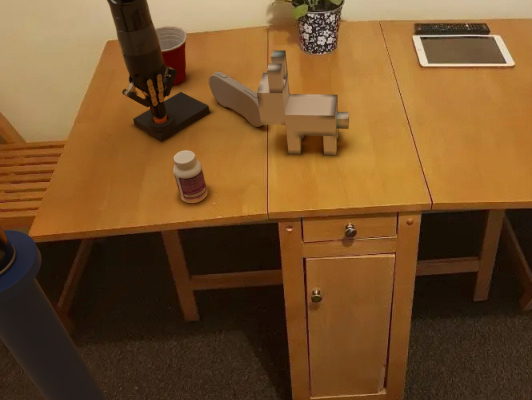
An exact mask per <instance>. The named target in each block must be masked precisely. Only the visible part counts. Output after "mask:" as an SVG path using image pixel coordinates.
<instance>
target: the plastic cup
mask: <svg viewBox="0 0 532 400" xmlns="http://www.w3.org/2000/svg"><path fill="white" fill-rule="evenodd" d="M155 29H156V32H157V36H158V40H159V44H160V48H161V52H162V56H163V60H164V62H163V63H164V64H165V65H166V67H167V66H169V67H171V68H173V69H175V70H177V74H176V77H175V80H174V83H173V86H172V87H176V86H180V85H182V84H183V83H185V81H187V79H186V78H187V60H186V59H187V58H186V45H187V44H186V42H187V39H188V34H187V31H185V30H184V29H183V28H181V27H178V26H173V25H171V26H170V25H165V26H159V27H155ZM166 86H167V84H166Z"/></svg>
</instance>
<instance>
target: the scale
mask: <svg viewBox="0 0 532 400" xmlns="http://www.w3.org/2000/svg"><path fill="white" fill-rule="evenodd" d="M164 105H165V109H166V113H165V115H166V116H167V121H166V122H165V123H162V124H155V122H154V116H153V115H152V114H151V110H150V108H149V109H148V110H146V111H143V112H142V113H141V114H138V115H137V116H135V117H134V118H132V120H133V124H134V127H136V128H138V129H140V130H142V131H143V132H145V133H147V134H148V135H150V136H152V137H153V138H155V139H157V140H159V141H160V142H165V141H166V140H168V139H169V138H171V137H172V136H174V135H176V134H178V133H179V132H181V131H182V130H184V129H186V128H188V127H189V126H191V125H192V124H194V123H195V122H197V121H199V120H200V119H202V118H204V117H205V116H207V115H208V114H210V113H211V111H210V106H209V104H206V103H204V102H202V101H200V100H198V99H196V98H195V97H193V96H190V95H188V94H187V93H185V92H182V91H180V92H178V93H176V94H174V95H173V96H170V97H169V98H167V99H166V100H165V99H164Z"/></svg>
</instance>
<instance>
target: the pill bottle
mask: <svg viewBox="0 0 532 400" xmlns="http://www.w3.org/2000/svg"><path fill="white" fill-rule="evenodd" d="M173 163H174V166H173V169H172V170H173V171H172V172H173V175H174V179H175V182H176V186H177V189H178V192H179V196H180V199H181V200H182V201H183V202H185V203H187V204H197V203H200V202H201V201H203V200H205V198H207V195H208V188H207V187H208V186H207V183H206V179H205V175H204V170H203V167H202V164H201V161H199V160H198V159H197V157H196V153H195V152H194V151H192V150H188V149H185V150H181V151H177V152H176V154H174V156H173Z"/></svg>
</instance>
